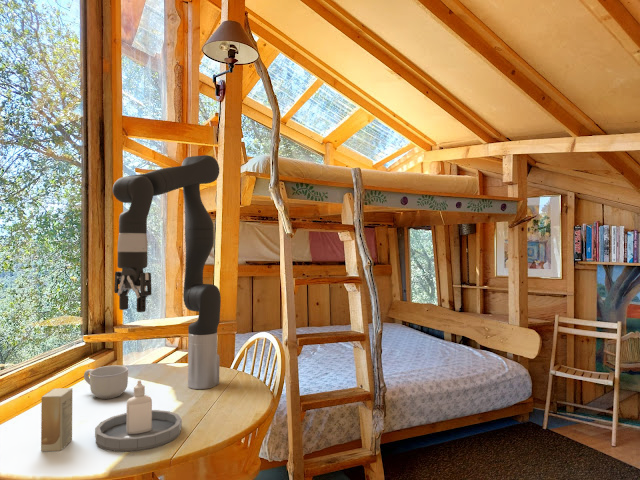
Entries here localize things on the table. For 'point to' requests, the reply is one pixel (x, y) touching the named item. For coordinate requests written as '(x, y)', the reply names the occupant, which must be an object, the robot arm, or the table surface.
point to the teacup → (107, 381)
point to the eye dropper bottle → (139, 411)
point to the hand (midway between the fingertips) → (132, 310)
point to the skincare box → (56, 419)
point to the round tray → (118, 440)
